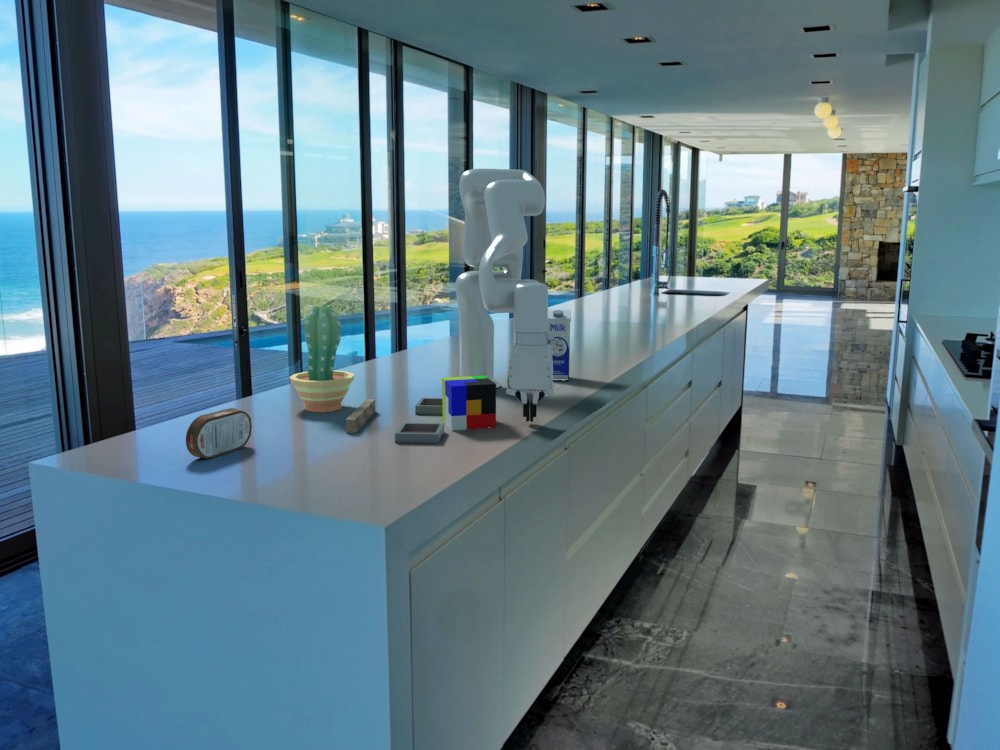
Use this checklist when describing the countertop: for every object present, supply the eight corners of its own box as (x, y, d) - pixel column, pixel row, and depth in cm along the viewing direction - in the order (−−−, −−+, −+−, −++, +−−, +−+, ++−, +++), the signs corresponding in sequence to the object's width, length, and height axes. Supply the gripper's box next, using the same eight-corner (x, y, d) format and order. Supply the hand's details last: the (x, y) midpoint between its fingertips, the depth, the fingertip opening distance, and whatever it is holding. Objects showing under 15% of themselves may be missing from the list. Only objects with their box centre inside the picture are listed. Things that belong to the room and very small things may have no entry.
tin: (244, 443, 168) (242, 403, 166) (255, 445, 166) (253, 405, 165) (185, 462, 155) (182, 419, 153) (197, 464, 153) (194, 421, 152)
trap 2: (421, 405, 202) (421, 397, 201) (457, 406, 201) (457, 398, 201) (415, 414, 193) (415, 406, 192) (453, 414, 192) (453, 406, 192)
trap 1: (403, 431, 177) (402, 422, 177) (444, 432, 176) (444, 423, 176) (395, 442, 168) (394, 433, 168) (438, 443, 168) (438, 434, 167)
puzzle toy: (451, 431, 178) (451, 386, 176) (442, 420, 187) (442, 377, 186) (495, 428, 181) (495, 383, 179) (484, 417, 190) (484, 375, 188)
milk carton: (569, 377, 239) (571, 308, 235) (569, 381, 232) (570, 311, 228) (545, 376, 239) (546, 308, 236) (544, 381, 233) (545, 311, 229)
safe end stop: (367, 411, 195) (366, 399, 195) (375, 411, 195) (375, 399, 195) (346, 432, 176) (345, 419, 175) (355, 433, 176) (355, 419, 175)
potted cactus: (365, 403, 204) (363, 303, 200) (337, 417, 190) (333, 310, 185) (310, 399, 208) (306, 301, 204) (278, 412, 194) (273, 307, 189)
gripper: (564, 337, 183) (562, 416, 186) (497, 336, 184) (497, 415, 187) (564, 342, 175) (563, 425, 179) (495, 341, 176) (495, 423, 180)
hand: (529, 420), depth 183 cm, fingers closed
